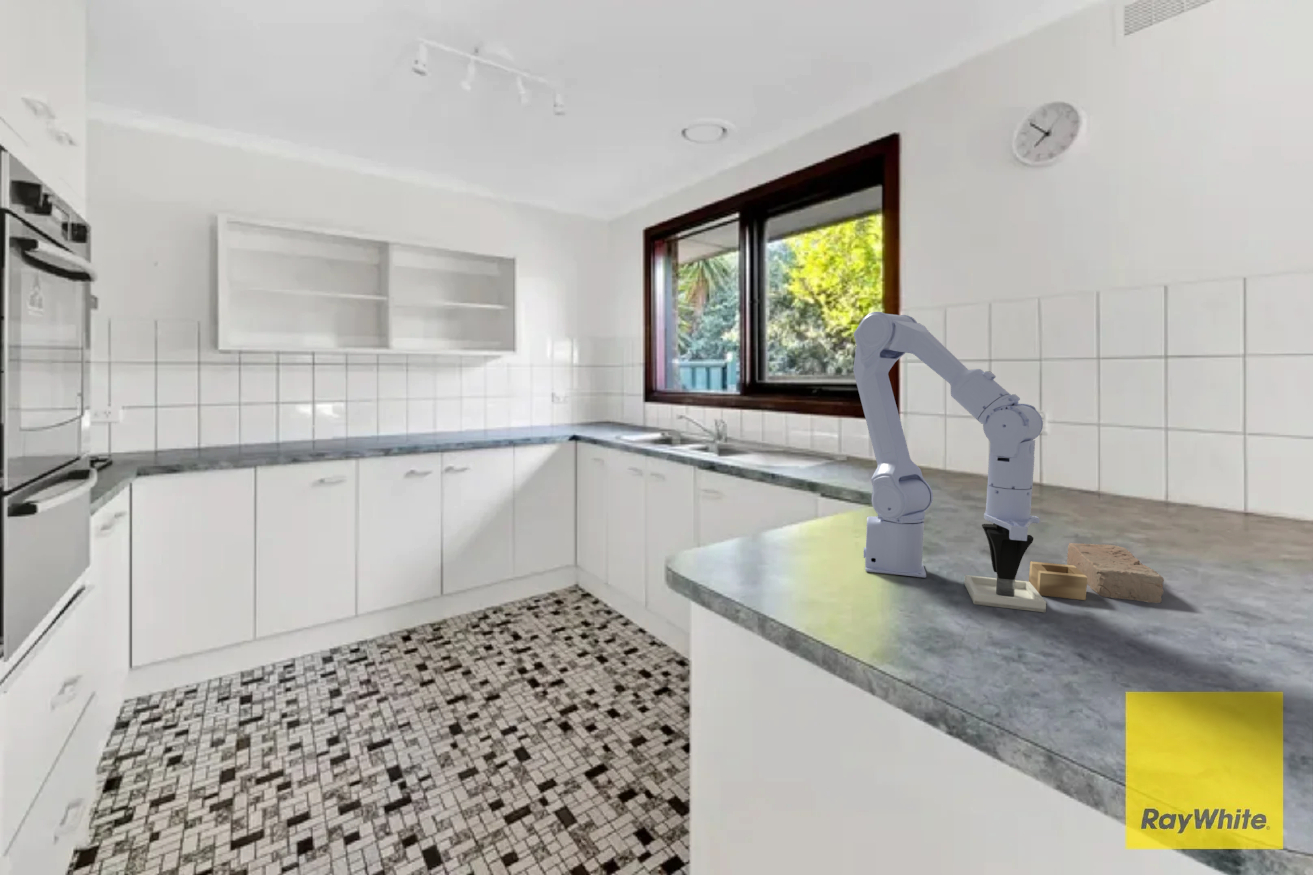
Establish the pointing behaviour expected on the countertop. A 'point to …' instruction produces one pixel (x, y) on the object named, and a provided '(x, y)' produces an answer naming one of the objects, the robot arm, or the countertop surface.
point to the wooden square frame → (1058, 580)
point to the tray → (985, 594)
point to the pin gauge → (1005, 587)
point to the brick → (1116, 572)
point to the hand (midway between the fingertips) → (1003, 575)
